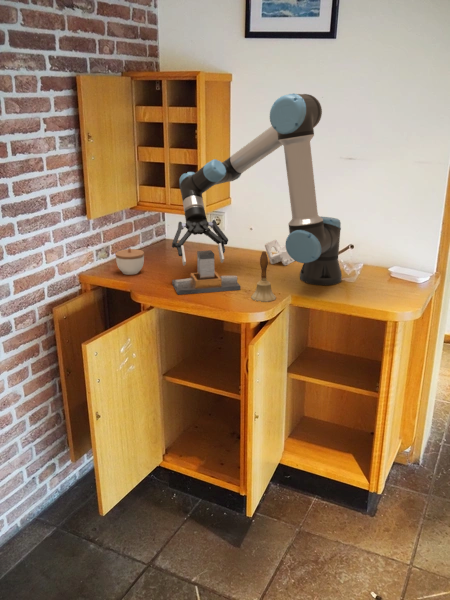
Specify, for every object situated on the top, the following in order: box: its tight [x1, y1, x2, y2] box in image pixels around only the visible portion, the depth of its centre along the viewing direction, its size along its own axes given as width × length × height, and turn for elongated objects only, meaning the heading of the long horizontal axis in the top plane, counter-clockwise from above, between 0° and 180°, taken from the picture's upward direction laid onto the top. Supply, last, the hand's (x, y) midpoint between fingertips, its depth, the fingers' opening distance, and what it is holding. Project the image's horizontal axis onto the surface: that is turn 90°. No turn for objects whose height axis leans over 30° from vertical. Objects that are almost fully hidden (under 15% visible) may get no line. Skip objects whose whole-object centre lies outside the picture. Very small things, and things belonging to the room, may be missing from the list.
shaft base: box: [171, 270, 241, 296], centre depth 197 cm, size 22×12×4 cm, turn 104°
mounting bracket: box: [264, 239, 296, 266], centre depth 227 cm, size 12×6×11 cm, turn 147°
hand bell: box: [250, 250, 277, 303], centre depth 185 cm, size 8×8×16 cm
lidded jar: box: [114, 247, 145, 276], centre depth 212 cm, size 11×11×9 cm
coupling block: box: [196, 250, 215, 280], centre depth 196 cm, size 5×5×11 cm
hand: (203, 262), depth 197 cm, fingers open, 13 cm apart
